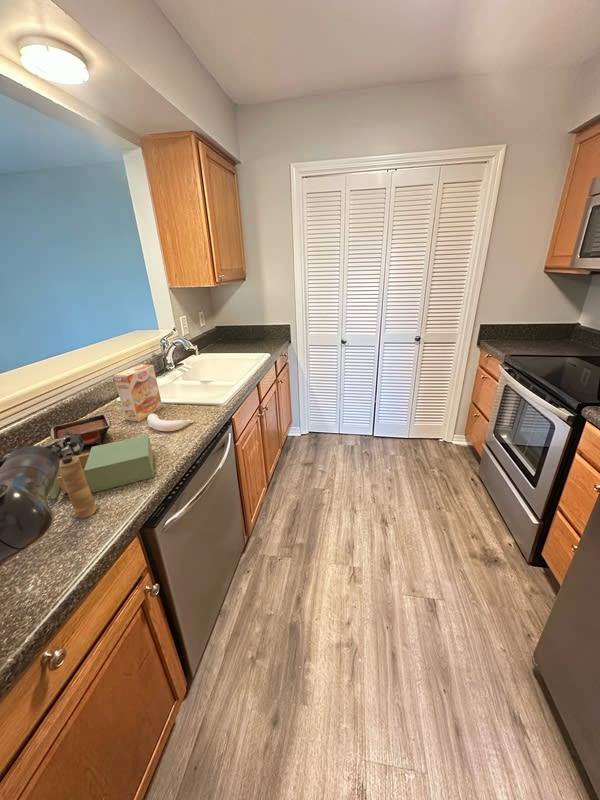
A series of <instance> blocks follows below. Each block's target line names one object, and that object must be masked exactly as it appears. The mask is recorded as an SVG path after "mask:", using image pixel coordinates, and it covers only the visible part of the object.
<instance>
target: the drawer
mask: <svg viewBox="0 0 600 800" xmlns="http://www.w3.org/2000/svg"><path fill="white" fill-rule="evenodd" d="M89 454H90V452H89V453H83V454H79V455H76V457H78V458H79V460H80V463H81V466H82V468H83V471H84V469H85V466H86V463H87V460H88V457H89ZM60 461H61V460H60ZM84 474H85V472H84ZM85 477H86V475H85ZM86 480H87V478H86ZM87 482H88V481H87ZM88 485H89V483H88ZM89 488H90V486H89ZM60 490H61V491H62V494H65V493H67V491H66V488H65V486H64V483H63V480H62V478H61V475H60V473H59V470H58V473H57V476H56V479H55V482H54V485H53V487H52V489H51V490H50V492H49V494H48V495H49V497H50V499H51V500H52V499H57V498H58V496H59V493H60Z"/></svg>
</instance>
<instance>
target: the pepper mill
mask: <svg viewBox="0 0 600 800" xmlns="http://www.w3.org/2000/svg"><path fill="white" fill-rule="evenodd" d="M76 456H77V455H76ZM76 456H74V455H65V456H64V457H63V458H62V459H61V461H60V464H59V473H60V475H61V478H62V480H63V483H64V486H65V488H66V491H67V492H66V493H67V495H68V498H69V501H70V503H71V506H72V508H73V511H74V513H75V516H76V518H77V519H86V518H88V517H90V516H92V515H94V514H95V513H96V511H97V510H98V509H97V508H98V507H97V504H96V502H95V499H94V497H93V493H92V492H91V489H90V487H89V485H88V482H87V480H86V477H85V474H84V471H83V468H82V466H81V463H80V460H79V458H78V457H76Z"/></svg>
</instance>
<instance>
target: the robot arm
mask: <svg viewBox="0 0 600 800" xmlns="http://www.w3.org/2000/svg"><path fill="white" fill-rule="evenodd" d="M63 442H65V444H66V447H64V445H63ZM84 446H85V445H84V442H83V440H82V438H81V436H80V433H76V434H74V435H73V434H72V433H69V432H65V433H64V434H63V437H62V438H61V439H58V440H51V441H49V442H47V443H46V444H44V445H27V446H23V447H20V446H16V447H14V448H12V450H11V451H10V452H9V453H7V454H5V455H4V456H3V458H1V459H0V567H2V566H3V565H5V564H6V563H7V562H9V561H10V560H12V559H13V558H15V557H17V556H18V555H19V554H20V553H22V552H24V551H25V550H27V549H28V548H29V547H31V546H32V545H34V544H35V543H36V542H38V541H39V540H40V539H42V538H43V537H44V536H45V535H46V534H47V532H49V530H50V528H51V527H52V525H53V523H54V513H53V510H52V508H51V507H50V505H49V502H48V496H49V495H50V494H49V492H50V490H51V489H52V487H53V485H54V482H55V479H56V476H57V473H58V470H59V464H60V460H61V459H62V458H63V457H65V456H67V455H66V454H68V455H69V454H71V455H72V456H79V455H81V454H82V451H83V448H84Z"/></svg>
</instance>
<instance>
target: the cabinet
mask: <svg viewBox="0 0 600 800" xmlns="http://www.w3.org/2000/svg"><path fill="white" fill-rule="evenodd" d="M150 440H151V439H150V436H149V435H148V434H146V435H142V436H137V437H133V438H128V439H123V440H118V441H114V442H113V441H112V442H108V443H104V444H99V445H95V446H91V448H90V452H89V453H90V454H89V457H88V460H87V463H86V466H85V469H84V472H85V475H86V478H87V481H88V483H89V486H90V487H89V488H90V491H91V493H92V494H93V493H97V492H102V491H105V490H109V489H113V488H116V487H121V486H124V485H129V484H132V483H136V482H140V481H144V480H148V479H151V478H155V468H154V467H155V466H154V465H155V464H154V452H153V448H152V444H151V441H150Z"/></svg>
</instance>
